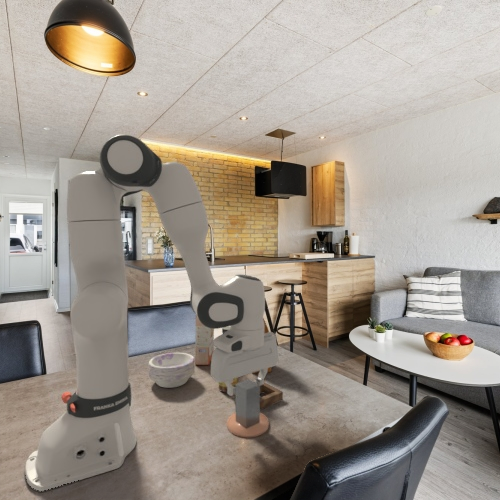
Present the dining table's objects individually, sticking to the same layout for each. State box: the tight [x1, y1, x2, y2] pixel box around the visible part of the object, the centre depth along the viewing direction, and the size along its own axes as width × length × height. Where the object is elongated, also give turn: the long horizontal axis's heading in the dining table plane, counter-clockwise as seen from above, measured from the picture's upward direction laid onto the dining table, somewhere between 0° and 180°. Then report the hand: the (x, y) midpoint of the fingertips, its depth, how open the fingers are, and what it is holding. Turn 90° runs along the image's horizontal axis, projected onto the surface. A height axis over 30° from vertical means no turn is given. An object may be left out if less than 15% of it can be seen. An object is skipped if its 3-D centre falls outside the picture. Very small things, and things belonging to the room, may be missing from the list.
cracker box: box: [194, 314, 215, 366], centre depth 133 cm, size 14×6×21 cm, turn 179°
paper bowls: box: [148, 352, 196, 389], centre depth 112 cm, size 15×15×8 cm
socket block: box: [260, 381, 284, 411], centre depth 101 cm, size 9×9×2 cm
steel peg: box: [235, 379, 261, 429], centre depth 87 cm, size 4×4×10 cm
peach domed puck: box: [226, 412, 270, 438], centre depth 87 cm, size 11×11×1 cm
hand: (246, 389), depth 87 cm, fingers open, 8 cm apart
